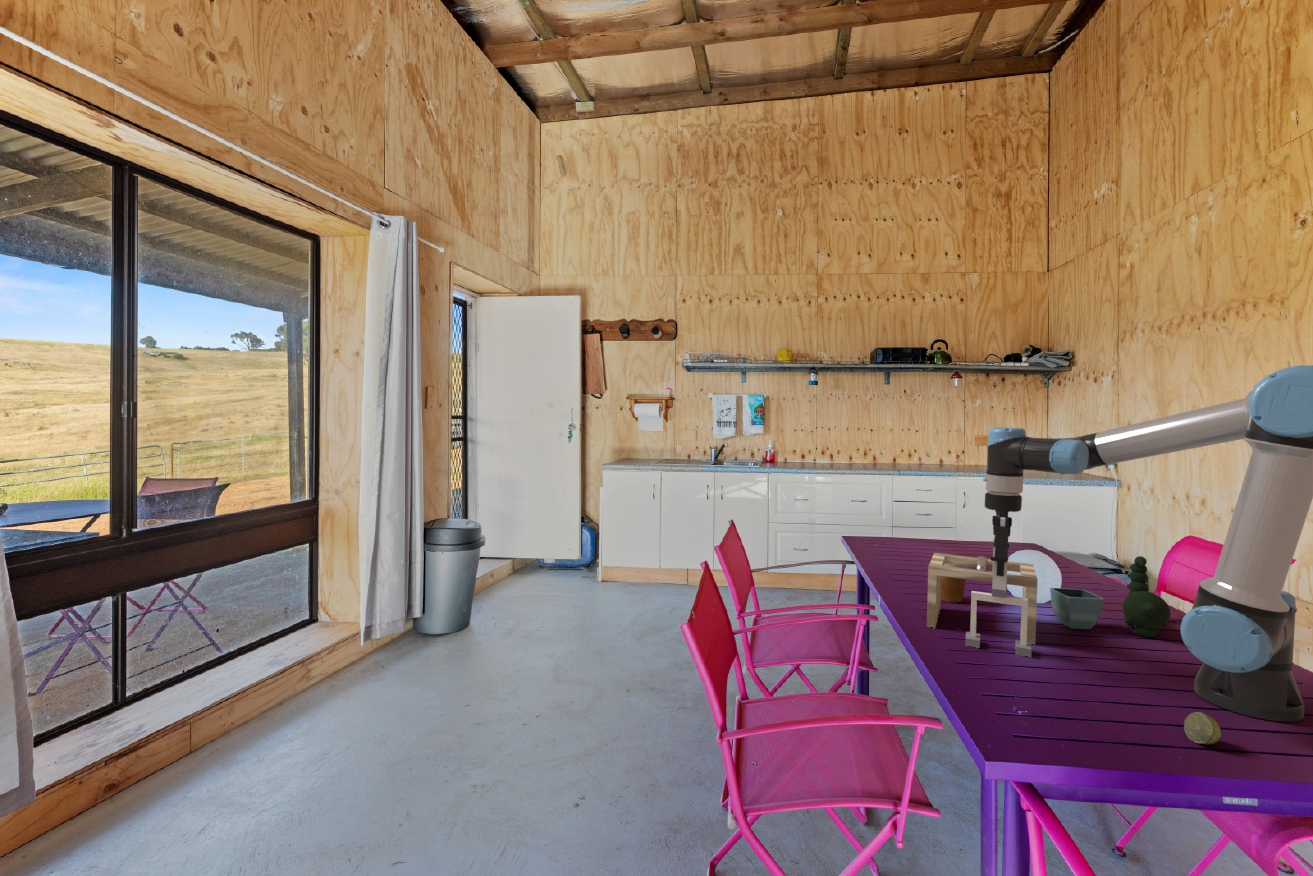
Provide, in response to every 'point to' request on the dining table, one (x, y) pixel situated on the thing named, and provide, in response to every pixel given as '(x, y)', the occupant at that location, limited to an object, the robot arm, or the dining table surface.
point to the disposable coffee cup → (952, 586)
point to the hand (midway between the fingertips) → (998, 581)
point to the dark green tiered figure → (1144, 603)
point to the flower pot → (1076, 607)
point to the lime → (1202, 728)
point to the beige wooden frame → (938, 570)
